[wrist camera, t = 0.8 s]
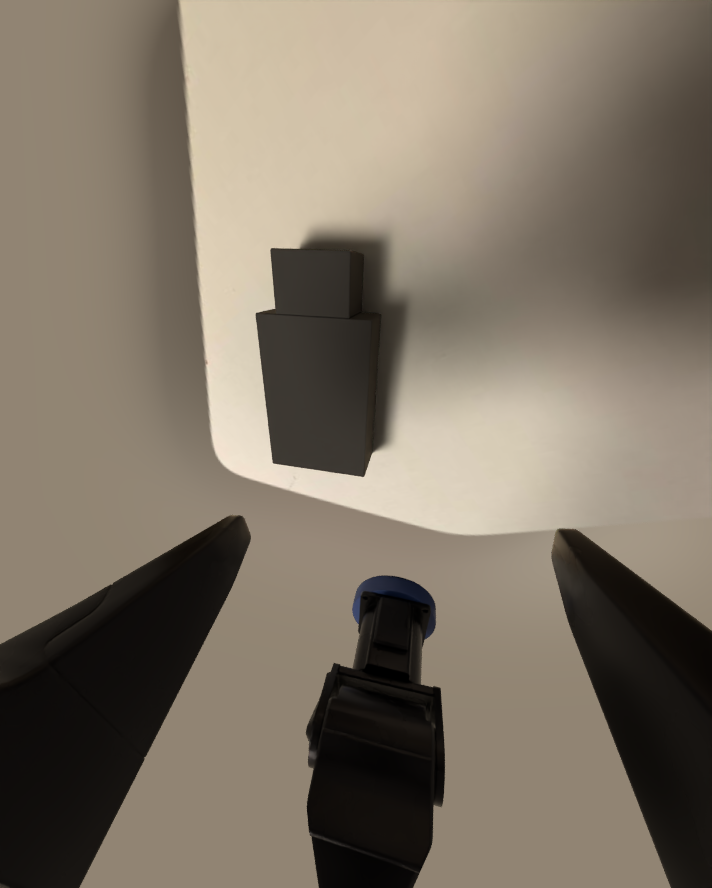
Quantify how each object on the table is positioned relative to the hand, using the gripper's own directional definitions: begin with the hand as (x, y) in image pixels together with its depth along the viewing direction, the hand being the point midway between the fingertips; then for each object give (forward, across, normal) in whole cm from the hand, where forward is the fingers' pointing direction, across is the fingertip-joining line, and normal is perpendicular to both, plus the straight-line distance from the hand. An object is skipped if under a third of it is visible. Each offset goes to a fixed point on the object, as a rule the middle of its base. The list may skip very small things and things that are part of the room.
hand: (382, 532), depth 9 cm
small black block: (+12, +5, -2) cm, 13 cm away
